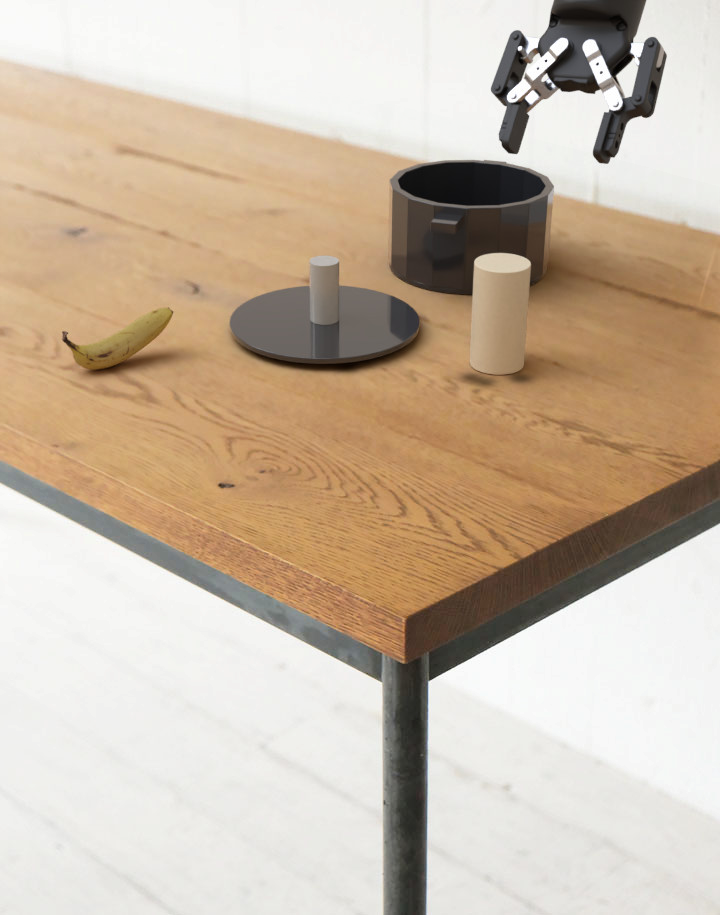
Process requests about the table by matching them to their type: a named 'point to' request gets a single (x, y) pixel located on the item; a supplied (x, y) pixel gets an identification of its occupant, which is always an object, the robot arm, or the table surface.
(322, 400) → the table surface
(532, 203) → the pot
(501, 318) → the beige wooden cylinder
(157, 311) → the banana
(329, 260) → the lid
